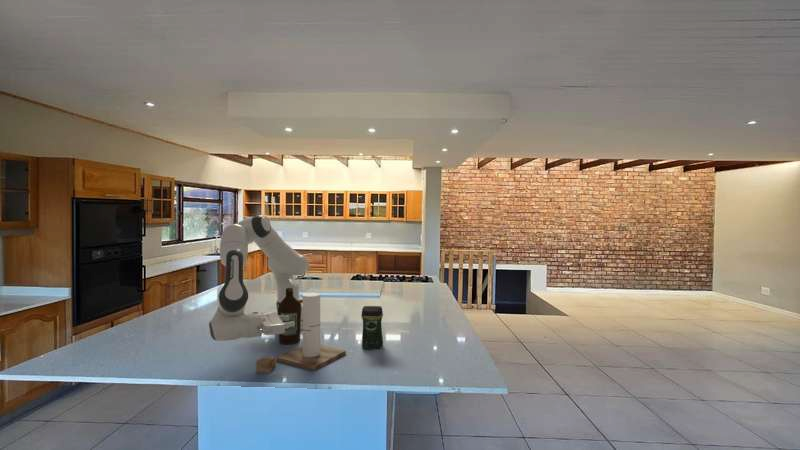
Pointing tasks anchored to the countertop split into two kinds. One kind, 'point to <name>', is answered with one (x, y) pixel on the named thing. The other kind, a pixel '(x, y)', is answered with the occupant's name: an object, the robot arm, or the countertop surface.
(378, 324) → the coffee jar
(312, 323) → the cylindrical container
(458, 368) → the countertop surface
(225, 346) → the countertop surface
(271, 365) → the walnut block
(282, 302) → the olive oil
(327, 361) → the board
